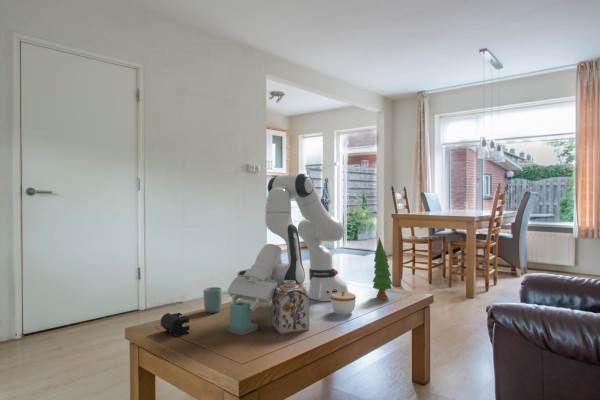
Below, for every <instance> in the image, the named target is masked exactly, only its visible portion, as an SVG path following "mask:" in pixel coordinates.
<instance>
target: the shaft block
mask: <svg viewBox="0 0 600 400" xmlns="http://www.w3.org/2000/svg"><path fill="white" fill-rule="evenodd" d="M226 329H227V330H226V331H227V332H228V333H232V334H236V335H239V336H245V335H247V334H250V333H253V332H255V331H257V330H258V324H257V323H254V322H251V325H248V326H246V327H243V328H237V327H233V326H230V324H229V325H227V326H226Z"/></svg>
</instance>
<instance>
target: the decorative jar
mask: <svg viewBox="0 0 600 400" xmlns="http://www.w3.org/2000/svg"><path fill="white" fill-rule="evenodd" d="M271 318H272V319H271V320H272V326H273V327H274V328H275V329H276V331H278V333H279V334H281V335H283V334H292V333H299V332H304V331H307V332H308V331H310V298H309V295H308V291H307V288H306V287H305V286H304V285H303V284H302V285H301V284H296V281H294V280H286V281H284V284H281V285H278V286H276V288H275V292H274V295H273V297H272V300H271Z"/></svg>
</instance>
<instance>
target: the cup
mask: <svg viewBox="0 0 600 400" xmlns="http://www.w3.org/2000/svg"><path fill="white" fill-rule="evenodd" d="M222 291H223V289H222V287H219V286H212V287H211V286H210V287H205V288H204V289H203V306H204V310H205V311H206V313H211V314H213V313H214V314H215V313H218V312H220V310H221V309H222V303H223V292H222Z"/></svg>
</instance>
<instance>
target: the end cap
mask: <svg viewBox="0 0 600 400" xmlns="http://www.w3.org/2000/svg"><path fill="white" fill-rule="evenodd" d="M182 315H183V314H182V313H181V312H177V313H169V312H167V313H165V314H164V315H162V317H161V318H160V326H161V327H162V328H163V329H164V330H166V331H167V332H168V333H171V334H173V335H174V336H176V337H182V336H185V335H189V334H190V325H186V326H183V324H187V323H190V317H189V316H187V315H183V316H182Z"/></svg>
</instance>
